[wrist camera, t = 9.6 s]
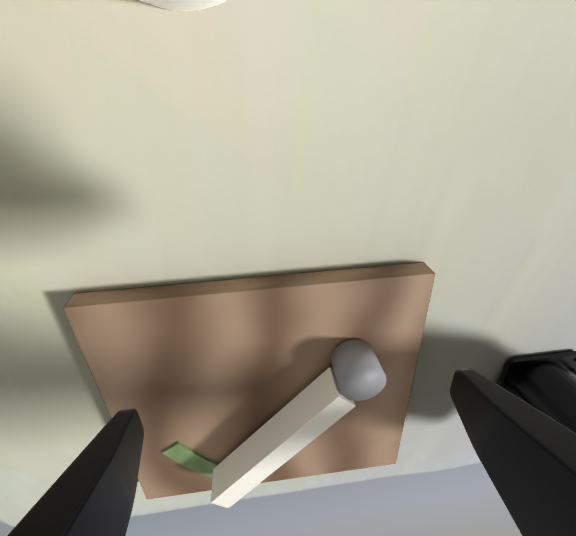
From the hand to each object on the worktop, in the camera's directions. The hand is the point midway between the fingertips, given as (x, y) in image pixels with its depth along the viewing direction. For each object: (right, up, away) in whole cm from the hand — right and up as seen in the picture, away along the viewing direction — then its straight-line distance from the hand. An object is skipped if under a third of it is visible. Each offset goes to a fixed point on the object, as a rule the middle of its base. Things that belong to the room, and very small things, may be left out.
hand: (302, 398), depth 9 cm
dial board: (-2, -6, +17) cm, 18 cm away
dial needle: (0, -7, +16) cm, 17 cm away
